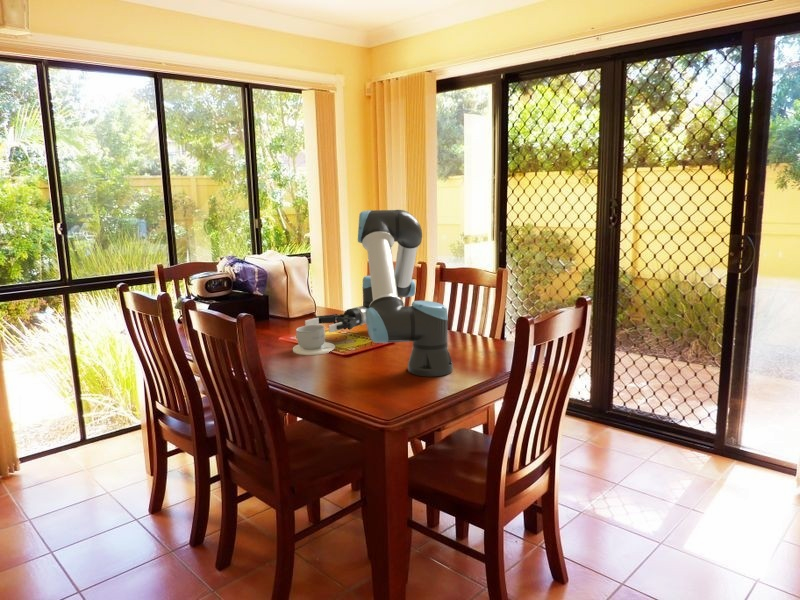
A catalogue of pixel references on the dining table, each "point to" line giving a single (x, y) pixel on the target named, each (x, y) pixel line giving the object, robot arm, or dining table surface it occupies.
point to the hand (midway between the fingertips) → (317, 326)
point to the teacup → (311, 336)
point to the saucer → (322, 350)
